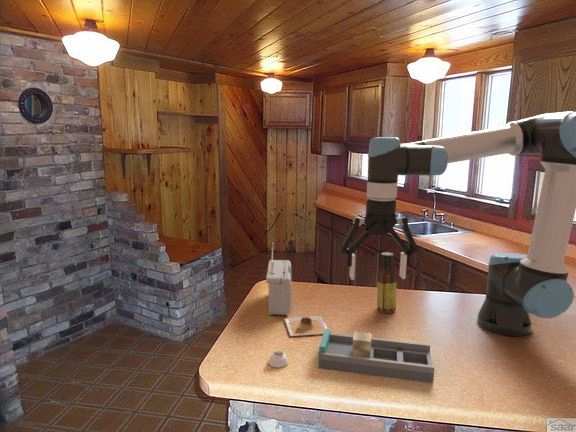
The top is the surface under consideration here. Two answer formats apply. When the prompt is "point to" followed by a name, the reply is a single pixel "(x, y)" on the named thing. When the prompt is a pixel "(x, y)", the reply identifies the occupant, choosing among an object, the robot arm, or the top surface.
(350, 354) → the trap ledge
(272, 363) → the white jar
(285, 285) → the stereo radio cassette player
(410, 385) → the top surface
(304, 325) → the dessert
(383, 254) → the sauce bottle
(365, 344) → the maple block
